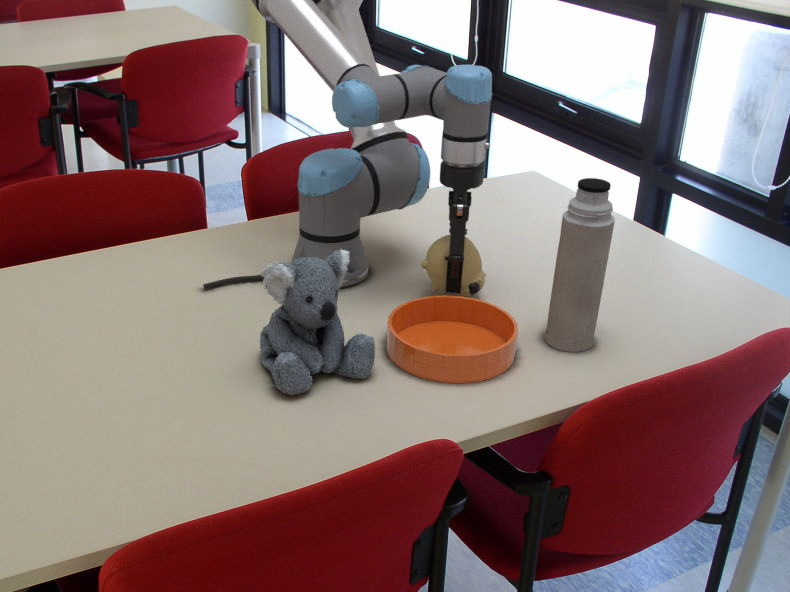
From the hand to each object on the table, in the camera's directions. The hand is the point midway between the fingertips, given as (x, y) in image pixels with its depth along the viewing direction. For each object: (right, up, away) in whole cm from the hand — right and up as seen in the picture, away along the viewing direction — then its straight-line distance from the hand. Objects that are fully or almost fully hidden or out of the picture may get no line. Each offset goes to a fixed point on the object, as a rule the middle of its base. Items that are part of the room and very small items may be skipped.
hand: (453, 280), depth 167 cm
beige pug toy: (0, -2, +1) cm, 2 cm away
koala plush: (-27, -16, -19) cm, 36 cm away
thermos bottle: (+18, -12, -12) cm, 25 cm away
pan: (-3, -13, -15) cm, 20 cm away
